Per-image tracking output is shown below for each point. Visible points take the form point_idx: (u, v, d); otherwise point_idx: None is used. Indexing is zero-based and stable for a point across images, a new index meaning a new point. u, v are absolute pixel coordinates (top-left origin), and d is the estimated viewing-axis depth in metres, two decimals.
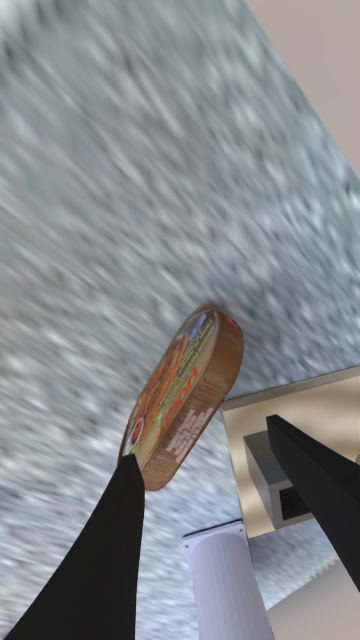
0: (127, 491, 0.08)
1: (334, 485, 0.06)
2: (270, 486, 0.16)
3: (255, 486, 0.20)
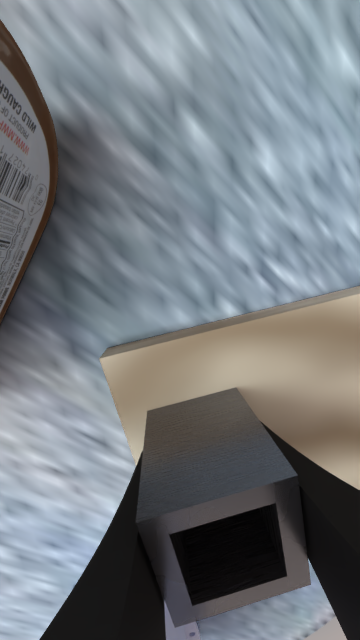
0: None
1: (304, 494, 0.06)
2: (143, 524, 0.06)
3: None
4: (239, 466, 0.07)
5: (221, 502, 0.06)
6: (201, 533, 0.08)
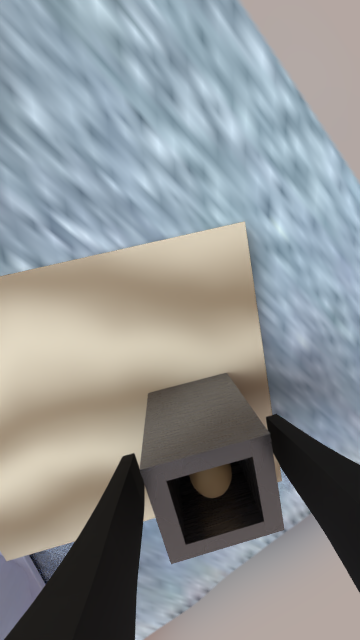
0: (127, 492, 0.08)
1: (334, 485, 0.06)
2: (145, 471, 0.07)
3: None
4: (224, 429, 0.08)
5: (208, 455, 0.07)
6: (194, 493, 0.10)
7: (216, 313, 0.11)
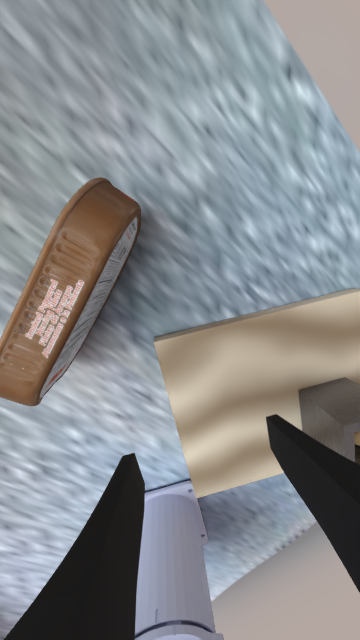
0: (127, 491, 0.08)
1: (334, 485, 0.06)
2: (346, 427, 0.15)
3: None
4: None
5: None
6: None
7: (344, 341, 0.19)
